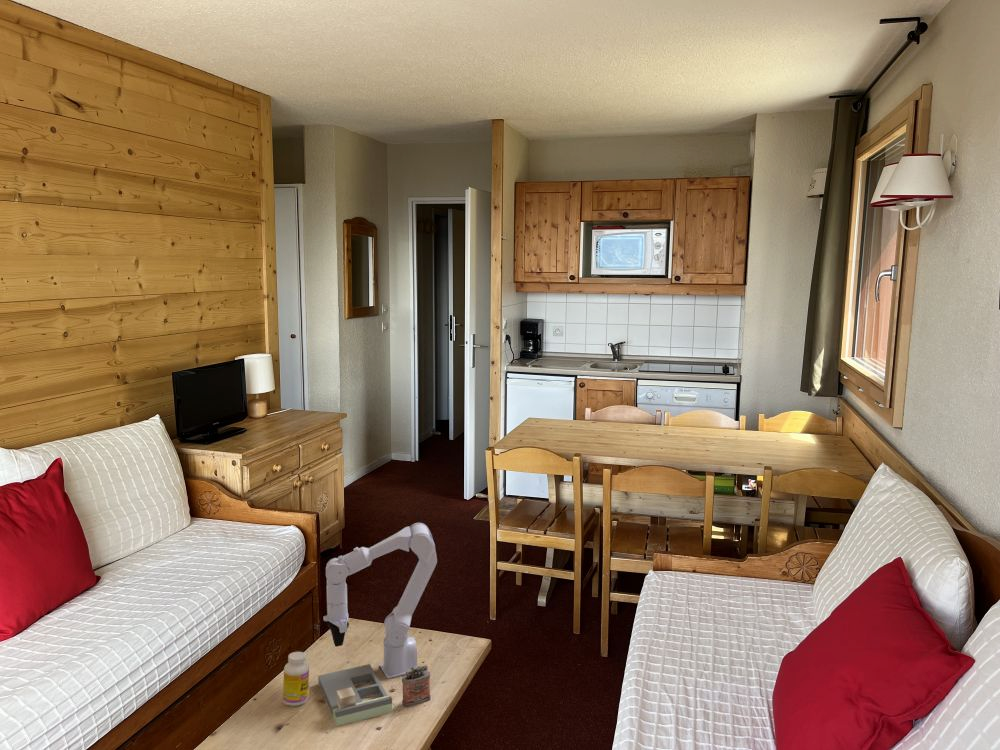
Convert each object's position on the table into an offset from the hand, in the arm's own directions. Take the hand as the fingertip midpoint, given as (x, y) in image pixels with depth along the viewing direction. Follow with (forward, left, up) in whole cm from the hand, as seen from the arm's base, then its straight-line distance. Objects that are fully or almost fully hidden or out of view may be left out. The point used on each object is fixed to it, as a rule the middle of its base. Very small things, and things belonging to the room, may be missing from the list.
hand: (338, 645), depth 219 cm
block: (+3, +20, -7) cm, 22 cm away
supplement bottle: (+14, +8, -9) cm, 19 cm away
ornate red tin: (-16, +22, -10) cm, 29 cm away
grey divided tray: (-1, +13, -9) cm, 16 cm away
